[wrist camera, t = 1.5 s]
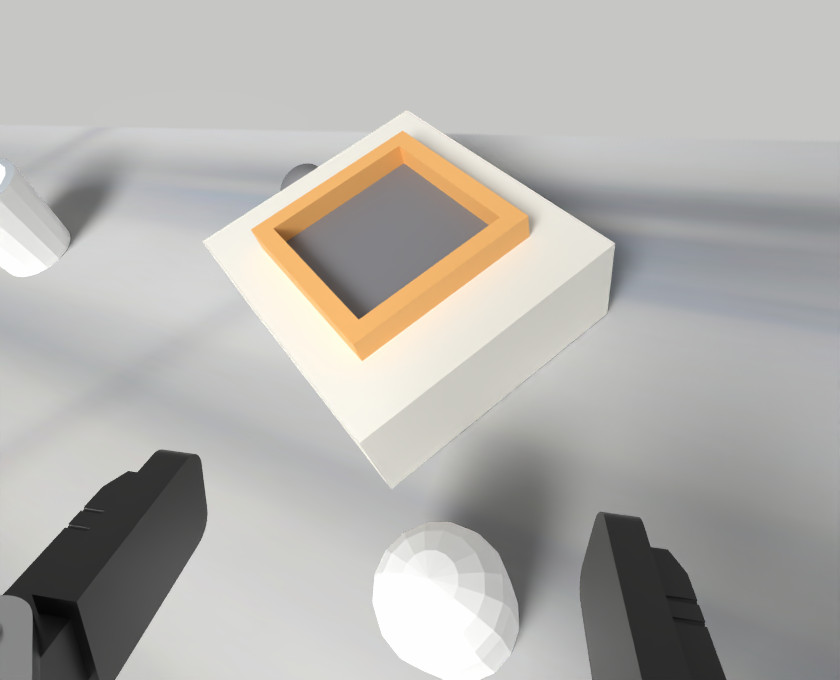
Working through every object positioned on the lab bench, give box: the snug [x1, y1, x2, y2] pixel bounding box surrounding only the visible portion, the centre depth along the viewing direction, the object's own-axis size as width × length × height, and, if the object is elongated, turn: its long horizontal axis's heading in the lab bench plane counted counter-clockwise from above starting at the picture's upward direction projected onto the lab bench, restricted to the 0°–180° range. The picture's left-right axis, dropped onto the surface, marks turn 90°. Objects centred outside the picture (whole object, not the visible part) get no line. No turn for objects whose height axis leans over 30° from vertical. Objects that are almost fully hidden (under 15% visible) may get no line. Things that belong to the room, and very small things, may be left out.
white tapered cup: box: [0, 159, 71, 277], centre depth 45 cm, size 7×7×7 cm
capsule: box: [373, 522, 519, 680], centre depth 23 cm, size 5×5×8 cm
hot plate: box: [203, 110, 615, 489], centre depth 35 cm, size 16×21×8 cm
